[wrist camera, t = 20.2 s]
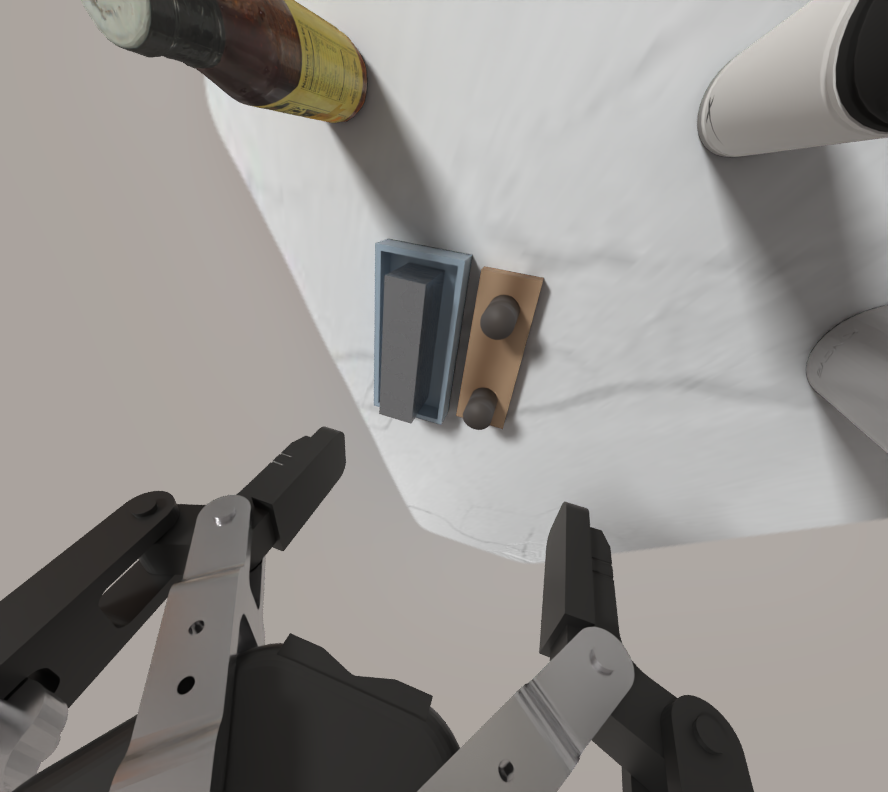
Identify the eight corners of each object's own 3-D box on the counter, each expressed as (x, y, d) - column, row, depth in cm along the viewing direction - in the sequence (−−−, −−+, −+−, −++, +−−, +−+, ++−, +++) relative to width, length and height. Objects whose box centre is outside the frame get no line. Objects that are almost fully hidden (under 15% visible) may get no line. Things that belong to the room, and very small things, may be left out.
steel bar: (445, 270, 36) (425, 284, 31) (428, 397, 45) (411, 423, 40) (409, 262, 37) (384, 275, 32) (399, 388, 46) (379, 413, 41)
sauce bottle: (300, 95, 33) (36, 14, 17) (323, 12, 29) (15, -195, 13) (357, 143, 33) (156, 110, 17) (387, 67, 30) (167, -66, 14)
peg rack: (543, 278, 34) (539, 292, 30) (504, 422, 44) (497, 449, 40) (484, 266, 36) (472, 278, 31) (459, 409, 46) (446, 434, 41)
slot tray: (472, 254, 35) (465, 260, 33) (448, 411, 46) (441, 424, 44) (388, 238, 37) (375, 243, 35) (383, 393, 48) (373, 405, 45)
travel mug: (672, 139, 27) (829, 79, 11) (749, 23, 23) (1184, -354, 7) (745, 178, 27) (1018, 177, 10) (835, 68, 23) (1489, -205, 7)
